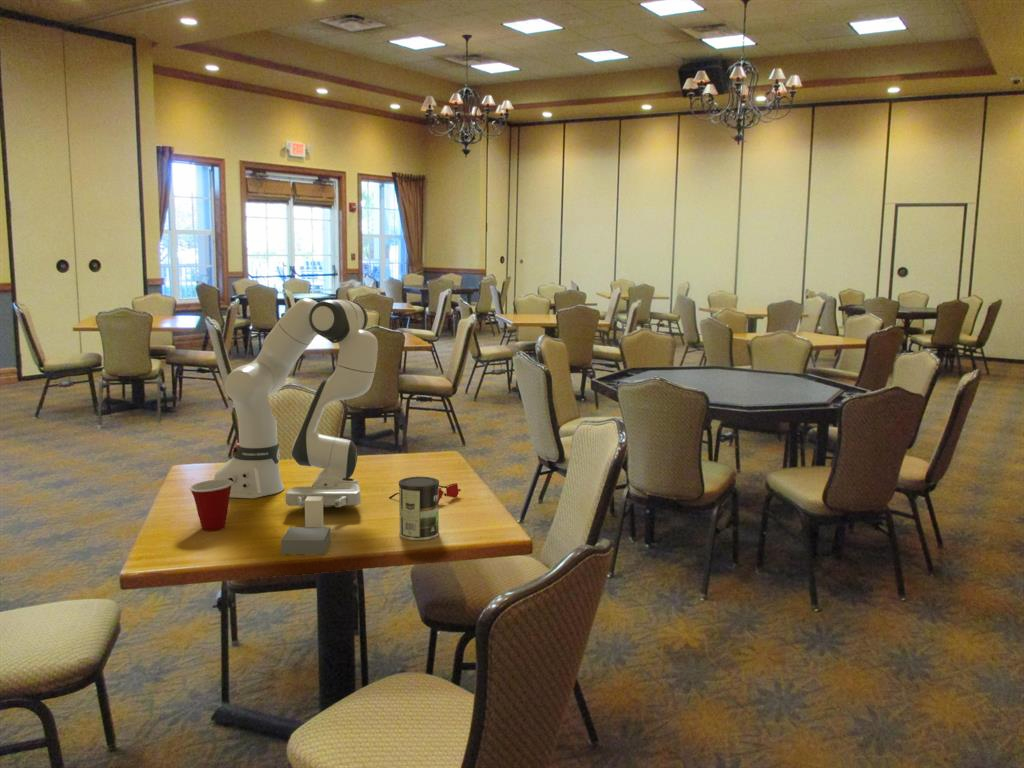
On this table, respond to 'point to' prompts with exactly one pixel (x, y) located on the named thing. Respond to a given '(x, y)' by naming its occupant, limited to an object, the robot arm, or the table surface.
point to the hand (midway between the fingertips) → (319, 504)
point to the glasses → (450, 491)
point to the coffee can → (419, 508)
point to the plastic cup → (212, 502)
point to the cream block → (314, 511)
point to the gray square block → (305, 540)
